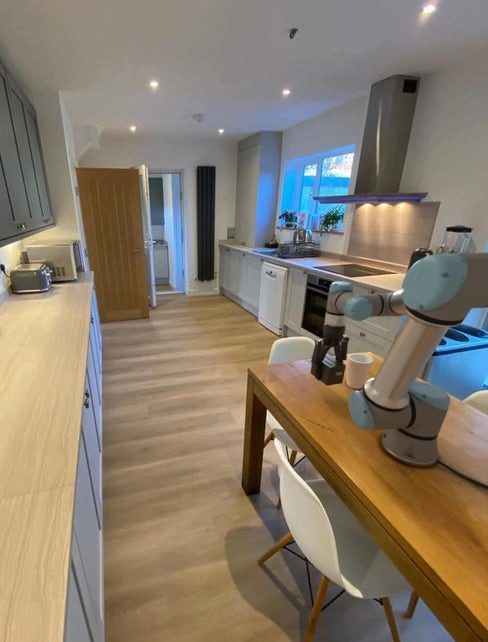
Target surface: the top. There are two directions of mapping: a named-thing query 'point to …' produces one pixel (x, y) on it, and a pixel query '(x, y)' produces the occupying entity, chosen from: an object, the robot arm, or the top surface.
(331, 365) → the dark slotted box
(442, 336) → the robot arm
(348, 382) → the foam cup
